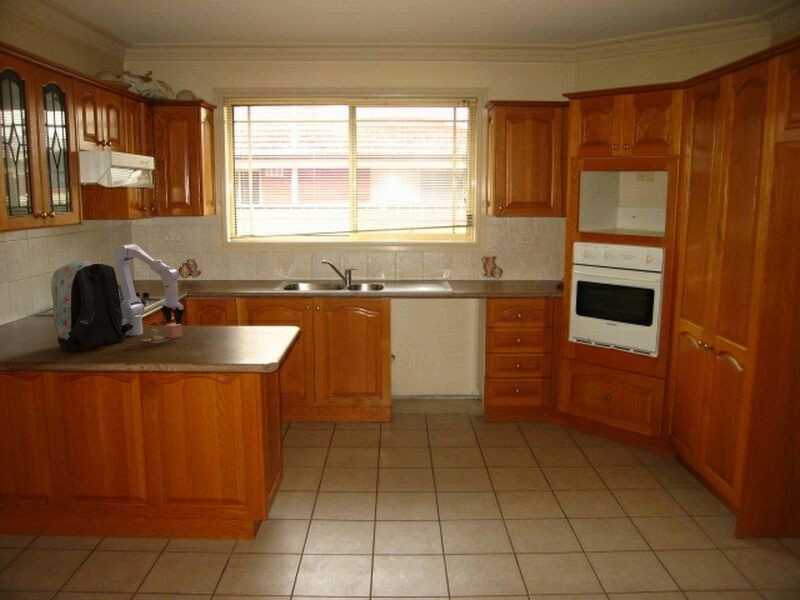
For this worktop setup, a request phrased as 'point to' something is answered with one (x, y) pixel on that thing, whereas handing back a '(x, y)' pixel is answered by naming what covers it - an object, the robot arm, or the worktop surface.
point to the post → (154, 334)
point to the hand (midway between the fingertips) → (173, 322)
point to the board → (157, 340)
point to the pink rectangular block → (173, 330)
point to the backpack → (87, 306)
